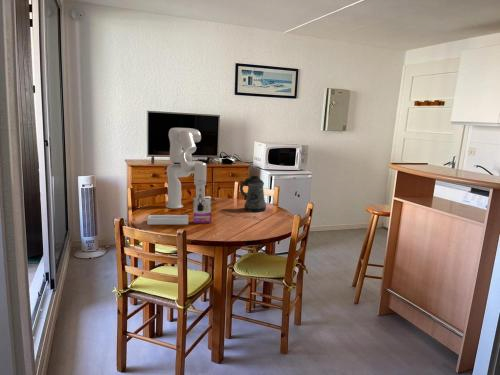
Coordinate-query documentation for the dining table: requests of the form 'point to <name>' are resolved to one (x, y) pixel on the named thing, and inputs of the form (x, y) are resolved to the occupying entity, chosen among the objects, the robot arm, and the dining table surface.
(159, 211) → the dining table surface
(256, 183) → the beer stein
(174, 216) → the acrylic channel
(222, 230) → the dining table surface
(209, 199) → the candy bar box
